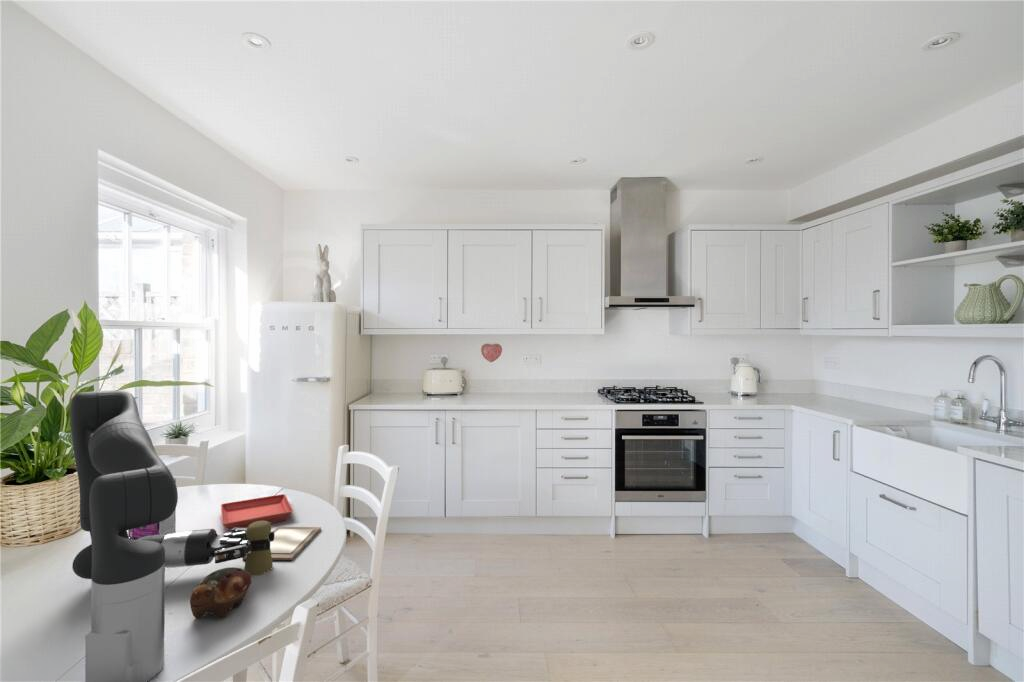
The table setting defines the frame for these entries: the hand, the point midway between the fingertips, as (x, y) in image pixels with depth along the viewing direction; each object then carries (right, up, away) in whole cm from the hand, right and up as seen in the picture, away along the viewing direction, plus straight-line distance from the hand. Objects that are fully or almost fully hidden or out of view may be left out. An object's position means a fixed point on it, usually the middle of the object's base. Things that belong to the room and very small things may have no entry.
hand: (271, 540), depth 110 cm
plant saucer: (-20, -6, +30) cm, 37 cm away
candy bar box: (-40, -6, +15) cm, 43 cm away
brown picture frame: (-3, -6, +12) cm, 14 cm away
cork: (-3, -7, -1) cm, 7 cm away
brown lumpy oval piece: (-1, -7, -17) cm, 18 cm away
